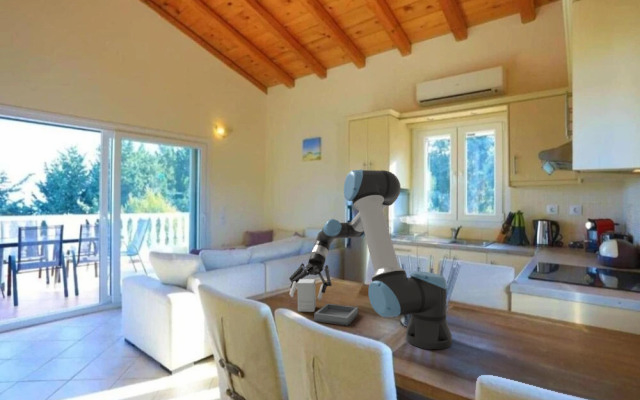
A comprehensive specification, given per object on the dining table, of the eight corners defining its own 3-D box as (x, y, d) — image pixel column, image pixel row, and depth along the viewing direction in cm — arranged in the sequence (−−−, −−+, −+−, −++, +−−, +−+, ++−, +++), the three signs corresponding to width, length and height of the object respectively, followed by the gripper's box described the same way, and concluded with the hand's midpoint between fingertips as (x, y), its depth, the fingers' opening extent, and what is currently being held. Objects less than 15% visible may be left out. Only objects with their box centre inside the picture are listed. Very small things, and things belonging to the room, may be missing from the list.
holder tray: (358, 314, 145) (358, 307, 145) (347, 325, 132) (347, 318, 132) (327, 310, 150) (327, 303, 150) (314, 320, 138) (314, 313, 138)
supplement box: (316, 306, 156) (315, 278, 155) (314, 312, 148) (314, 282, 148) (299, 306, 156) (299, 278, 156) (297, 311, 149) (297, 282, 149)
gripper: (344, 263, 161) (333, 304, 148) (297, 260, 171) (282, 298, 158) (341, 254, 157) (328, 295, 143) (292, 251, 166) (276, 289, 153)
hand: (304, 297), depth 150 cm, fingers open, 13 cm apart
